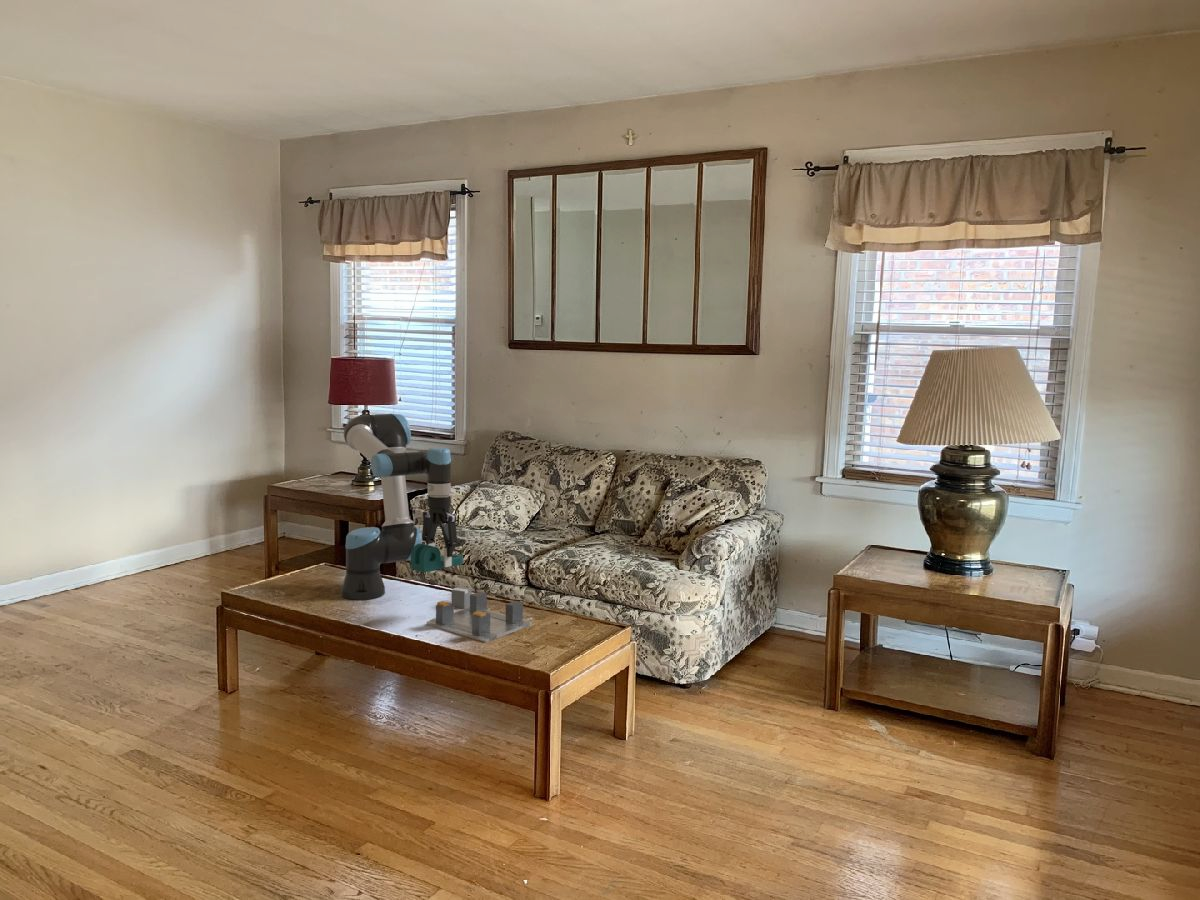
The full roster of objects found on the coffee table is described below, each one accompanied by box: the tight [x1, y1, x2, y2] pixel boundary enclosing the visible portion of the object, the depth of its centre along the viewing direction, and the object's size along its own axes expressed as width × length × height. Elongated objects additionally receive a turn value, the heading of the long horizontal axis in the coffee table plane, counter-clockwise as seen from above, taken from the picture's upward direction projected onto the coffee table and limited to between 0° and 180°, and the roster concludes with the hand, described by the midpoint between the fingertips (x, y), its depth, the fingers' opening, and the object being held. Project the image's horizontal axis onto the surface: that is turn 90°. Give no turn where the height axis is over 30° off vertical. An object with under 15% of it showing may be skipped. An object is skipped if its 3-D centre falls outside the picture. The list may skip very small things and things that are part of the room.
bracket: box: [410, 543, 464, 573], centre depth 300 cm, size 18×7×8 cm, turn 139°
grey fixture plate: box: [426, 591, 533, 643], centre depth 296 cm, size 26×22×8 cm
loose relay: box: [451, 586, 473, 610], centre depth 316 cm, size 5×5×6 cm
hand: (439, 564), depth 300 cm, fingers closed on bracket, 7 cm apart
